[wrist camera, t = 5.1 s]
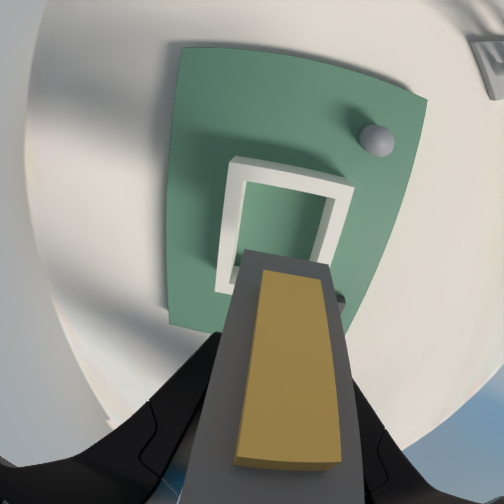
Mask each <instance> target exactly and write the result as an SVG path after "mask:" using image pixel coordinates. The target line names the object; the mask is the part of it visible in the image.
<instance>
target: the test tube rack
mask: <svg viewBox="0 0 504 504" xmlns="http://www.w3.org/2000/svg"><path fill="white" fill-rule="evenodd" d="M470 46H471V48H472V50H473V53H474V55H475V57H476V60H477V62H478V65H479V68H480V70H481V73H482V76H483V79H484V82H485V85H486V88H487V91H488V94H489V98H490V100H494V101H497V100H501V99H504V41H478V42H471V43H470Z"/></svg>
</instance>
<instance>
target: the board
mask: <svg viewBox="0 0 504 504" xmlns="http://www.w3.org/2000/svg"><path fill="white" fill-rule="evenodd" d="M427 101H428V100H427V99H425V98H423V97H420V96H418V95H416V94H414V93H411V92H409V91H407V90H404V89H402V88H400V87H397V86H395V85H392V84H390V83H387V82H384V81H382V80H379V79H376V78H373V77H370V76H367V75H364V74H361V73H358V72H355V71H352V70H348V69H345V68H341V67H338V66H334V65H330V64H326V63H322V62H318V61H313V60H309V59H304V58H299V57H294V56H288V55H282V54H276V53H269V52H261V51H253V50H243V49H230V48H208V47H182V52H181V57H180V63H179V70H178V76H177V83H176V90H175V98H174V106H173V115H172V125H171V136H170V148H169V162H168V180H167V208H166V265H167V292H168V311H169V324H172V325H176V326H180V327H184V328H188V329H193V330H197V331H202V332H206V333H211V334H213V333H214V332H215V331H218V332H222V331H223V328H224V324H225V320H226V316H227V312H228V309H229V305H230V301H231V297H232V294H233V290H234V286H235V282H236V279H237V275H238V271H239V267H240V264H241V260H242V256H243V253H244V249H248V250H254V251H259V252H264V253H270V254H275V255H281V256H286V257H291V258H297V259H302V260H308V261H313V262H318V263H324V264H328V265H329V268H330V273H331V277H332V281H333V285H334V289H335V294H336V298H337V302H338V307H339V312H340V316H341V321H342V326H343V331H344V336H345V334H346V332H347V330H348V328H349V326H350V325H351V323H352V321H353V319H354V317H355V315H356V313H357V311H358V309H359V307H360V304H361V302H362V300H363V298H364V296H365V294H366V292H367V290H368V287H369V285H370V283H371V281H372V279H373V276H374V274H375V272H376V269H377V267H378V265H379V262H380V260H381V257H382V255H383V252H384V250H385V247H386V245H387V242H388V240H389V237H390V235H391V232H392V229H393V226H394V224H395V221H396V218H397V215H398V212H399V209H400V206H401V203H402V200H403V197H404V194H405V191H406V188H407V184H408V181H409V178H410V174H411V171H412V167H413V164H414V160H415V156H416V152H417V148H418V144H419V140H420V136H421V131H422V127H423V122H424V117H425V112H426V106H427Z"/></svg>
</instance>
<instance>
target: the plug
mask: <svg viewBox="0 0 504 504" xmlns="http://www.w3.org/2000/svg"><path fill="white" fill-rule="evenodd" d="M179 504H365V500H364V479H363V465H362V453H361V442H360V433H359V424H358V416H357V408H356V401H355V394H354V387H353V381H352V375H351V369H350V363H349V357H348V352H347V346H346V341H345V336H344V331H343V326H342V321H341V316H340V312H339V307H338V302H337V298H336V294H335V289H334V285H333V281H332V277H331V273H330V268H329V265H328V264H324V263H318V262H313V261H308V260H302V259H297V258H291V257H286V256H281V255H275V254H270V253H264V252H259V251H254V250H248V249H244V253H243V256H242V260H241V264H240V267H239V271H238V275H237V279H236V282H235V286H234V290H233V294H232V297H231V301H230V305H229V309H228V312H227V316H226V320H225V324H224V328H223V331H222V335H221V339H220V343H219V347H218V351H217V354H216V358H215V362H214V366H213V370H212V374H211V378H210V381H209V385H208V389H207V393H206V397H205V401H204V405H203V409H202V413H201V417H200V421H199V424H198V428H197V432H196V436H195V440H194V444H193V448H192V452H191V456H190V460H189V464H188V468H187V472H186V477H185V481H184V485H183V489H182V493H181V497H180V501H179Z"/></svg>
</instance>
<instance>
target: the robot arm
mask: <svg viewBox="0 0 504 504" xmlns="http://www.w3.org/2000/svg"><path fill="white" fill-rule="evenodd" d="M221 335H222V332H218V331H215V332H214V333H213V334H212V335H211V336H210V337H209V338H208V339H207V340H206V341H205V342H204V343H203V344H202V345H201V346H200V347H199V348H198V350H197V351H196V352H195V353H194V354H193V355H192V356H191V357H190V358H189V359H188V360H187V361H186V362H185V363H184V364H183V365H182V366H181V367H180V368H179V369H178V370H177V371H176V372H175V373H174V374H173V375H172V377H171V378H170V379H169V380H168V381H167V382H166V383H165V384H164V385H163V386H162V387H161V388H160V389H159V390H158V391H157V392H156V393H155V394H154V395H153V396H152V397H151V398H150V399H149V401H147V402H146V403H145V404H144V405H143V406H142V407H141V408H140V409H139V410H138V411H136V412H135V413H134V414H133V415H132V416H131V417H130V418H129V419H128V420H126V421H125V422H124V423H123V424H121V425H120V426H119V427H118V428H116V429H115V430H114V431H112V432H111V433H109V434H108V435H107V436H105V437H104V438H103V439H101V440H99V441H98V442H97V443H95V444H94V445H92V446H91V447H90V448H88V449H86V450H85V451H83V452H82V453H80V454H78V455H75V456H73V457H70V458H67V459H62V460H58V461H53V462H48V463H43V464H37V465H31V466H25V467H17V466H15V465H13V464H12V463H10V462H8V461H7V460H5V459H4V458H2V457H1V456H0V504H176V503H177V501H178V497H179V495H180V493H181V490H182V487H183V485H184V481H185V477H186V472H187V468H188V464H189V460H190V456H191V452H192V448H193V444H194V440H195V436H196V432H197V428H198V424H199V421H200V417H201V413H202V409H203V405H204V401H205V397H206V393H207V389H208V385H209V381H210V378H211V374H212V370H213V366H214V362H215V358H216V354H217V351H218V347H219V343H220V339H221ZM352 381H353V387H354V394H355V401H356V408H357V416H358V424H359V433H360V442H361V453H362V465H363V479H364V500H365V504H481V503H476V502H472V501H469V500H466V499H462V498H459V497H456V496H453V495H450V494H447V493H444V492H441V491H439V490H437V489H435V488H434V487H432V486H431V485H430V484H428V483H427V482H426V480H425V479H424V478H423V477H422V476H421V474H420V473H419V472H418V471H417V470H416V468H415V467H414V466H413V465H412V464H411V463H410V461H409V460H408V459H407V458H406V456H405V455H404V454H403V453H402V451H401V450H400V449H399V447H398V446H397V444H396V443H395V442H394V440H393V439H392V437H391V436H390V434H389V433H388V431H387V430H386V429H385V427H384V425H383V424H382V422H381V421H380V419H379V418H378V416H377V414H376V413H375V411H374V410H373V408H372V407H371V405H370V404H369V402H368V401H367V399H366V398H365V396H364V395H363V393H362V392H361V390H360V389H359V387H358V386H357V384H356V383H355V381H354V380H353V378H352ZM484 504H504V496H500V497H497V498H495V499H493V500H491V501H488V502H486V503H484Z"/></svg>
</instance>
